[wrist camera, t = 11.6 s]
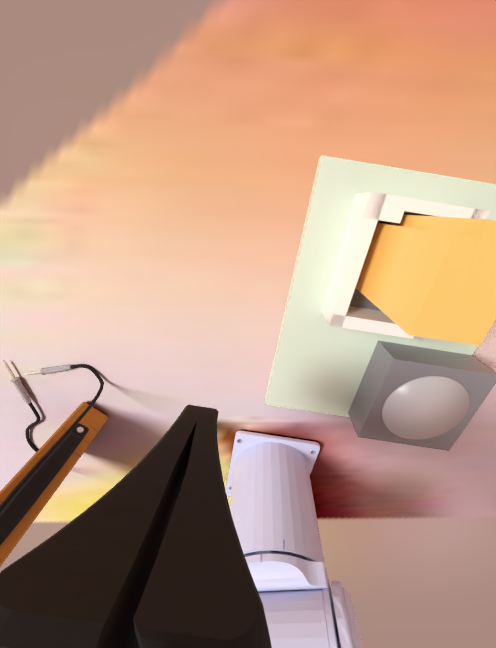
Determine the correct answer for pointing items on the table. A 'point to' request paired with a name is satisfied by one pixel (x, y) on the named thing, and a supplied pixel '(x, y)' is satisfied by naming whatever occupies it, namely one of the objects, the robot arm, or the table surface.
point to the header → (367, 211)
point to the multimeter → (45, 464)
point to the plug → (434, 276)
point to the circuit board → (315, 277)
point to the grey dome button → (419, 395)
